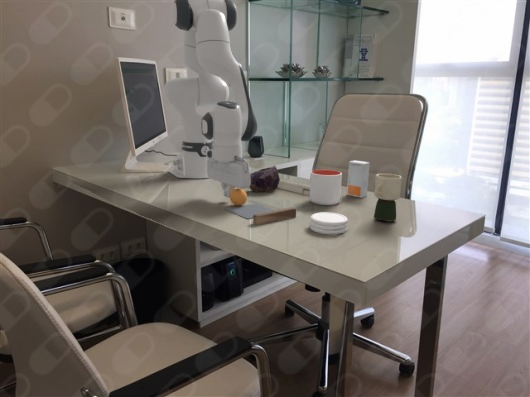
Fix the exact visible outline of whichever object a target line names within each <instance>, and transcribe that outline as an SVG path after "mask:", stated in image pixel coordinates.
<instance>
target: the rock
mask: <svg viewBox="0 0 530 397" xmlns="http://www.w3.org/2000/svg"><path fill="white" fill-rule="evenodd" d="M250 177H251V185H250V187H249V189H250V191H252V192H255V193H260V192H267V193H270V191H272V192H273V191H274V190H276V189H278V188H279V184H280V181H281V179H280V174H279V172H278V169H277V166H276V165H273V166H268V167H266V168H260V169H259V170H258V171H254V172H252V173H250Z"/></svg>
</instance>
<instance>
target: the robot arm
mask: <svg viewBox="0 0 530 397" xmlns="http://www.w3.org/2000/svg"><path fill="white" fill-rule="evenodd" d="M171 16H172V20H173V22H174V25H175V26H176V27H177V29H179V30H182V31H184V34H183V56H182V58H183V63H184V65H185V66H186V68H188V69H189V70H190V71H193V72H195V73H196V74H198V77H177V78H171V79H168V80H167V81H166V83H165V84H164V86H163V93H162V94H163V97H164V99H165V101H166V102H167V104H169V106H171V107H172V108H174V110H176V112H177V113H178V115H179V116H180V119H181V122H182V127H183V129H182V130H183V141H182V142H181V151H180V152H179V153H178V154H177V156H176V157H175V158H174V159H173V161H172V164H173V166H174V168H170V169H168V173H170V174H172V175H173V176H175V177H176V178H179V179H208V178H209V179H211V180H213V181H217V182H219V183H221V184H220V186H221V189H222V190H223V197H226V198H228V199H230V194H231V192H232V191H233V190H235V189H242V190H244V189H248V188H249V189H250V185H251V177H250V174H251V170H250V165H249V162H248V161H247V159H246V158H244V157H243V142H249V141H250V140H251V139H253V138H254V136H256V134H257V132H258V123H257V119H256V116H255V113H254V110H253V106H252V102H251V98H250V94H249V90H248V85H247V80H246V76H245V72H244V68H243V67H242V64H241V63H240V62H239V61H237V60H236V58H235V57H234V55H233V53H232V48H231V40H230V31H233V29H234V28H235V27H236V24H237V21H238V11H237V5H236V4H235V2H234V0H174V2H173V5H172V7H171ZM227 83H228V84H229V85H230V87H231V88H232V92H233V96H234V100H235V102H234V101H229V97H230V88H229V86H228V84H227ZM197 107H201V108H202V107H207V108H208V107H209V108H210V107H212V108H213V107H214V109H213V110H211V111H208V112H206V113H205V114H204V115H201V114H199V113H198V112H197V109H196V108H197ZM213 141H214V143H213Z"/></svg>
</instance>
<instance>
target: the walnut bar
mask: <svg viewBox="0 0 530 397" xmlns="http://www.w3.org/2000/svg"><path fill="white" fill-rule="evenodd" d="M296 217H297V208H296V207H294V206H289V207H284V208H279V209H274V211H269V212H264V213H259V214H254V215H253V218H252V219H253V220H252V223H253V225H256V226H260V225H259V224H261V225H264V223H265V224H270V223H273V222H274V223H275V222H278V221H282V220H287V219H291V218H296ZM269 222H270V223H269Z"/></svg>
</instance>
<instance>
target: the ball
mask: <svg viewBox="0 0 530 397" xmlns="http://www.w3.org/2000/svg"><path fill="white" fill-rule="evenodd" d="M229 200H230V203H231V204H233V205H234V206H235V207H238V206H243V205H245V204H246V202H247V200H248V195H247V192H246V191H245V190H244V189H240V188H235V189H234V190H233V191H232V192H231V194H230V198H229Z"/></svg>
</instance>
